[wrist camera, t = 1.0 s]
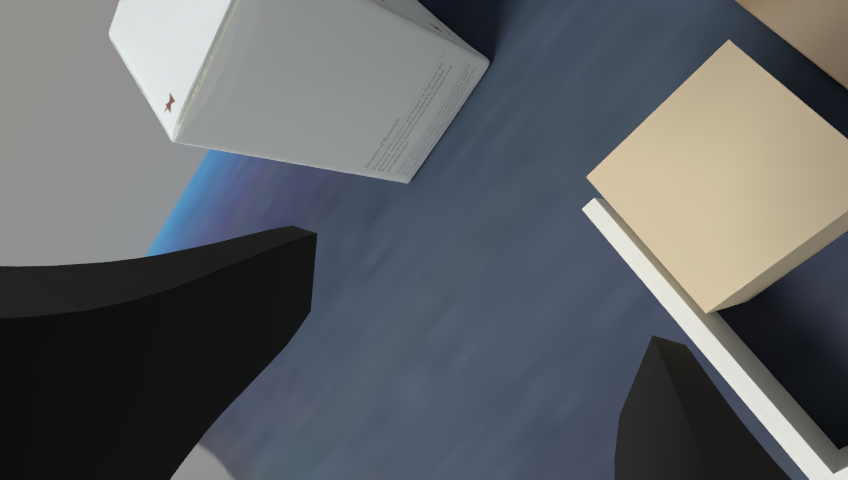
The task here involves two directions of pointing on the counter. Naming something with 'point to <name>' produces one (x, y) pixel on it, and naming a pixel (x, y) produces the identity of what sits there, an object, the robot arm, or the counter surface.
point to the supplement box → (301, 78)
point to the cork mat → (810, 30)
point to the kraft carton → (730, 181)
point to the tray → (727, 354)
